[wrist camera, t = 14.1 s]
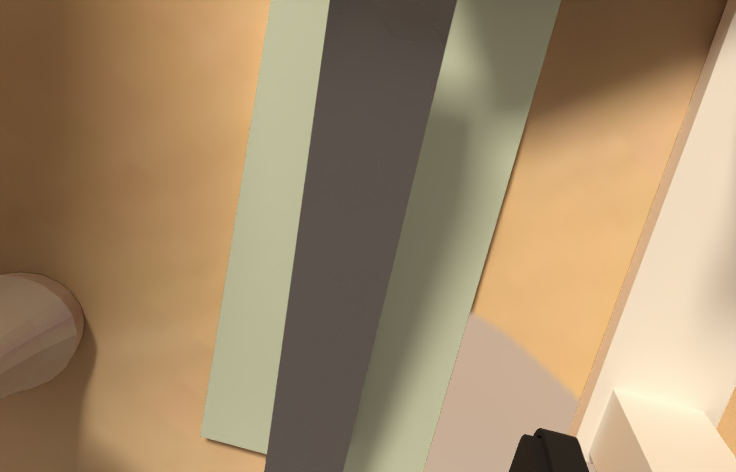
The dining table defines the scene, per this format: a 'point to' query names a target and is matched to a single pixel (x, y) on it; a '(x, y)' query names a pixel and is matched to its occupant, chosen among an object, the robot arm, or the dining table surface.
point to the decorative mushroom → (35, 330)
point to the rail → (352, 217)
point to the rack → (676, 302)
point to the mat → (418, 236)
